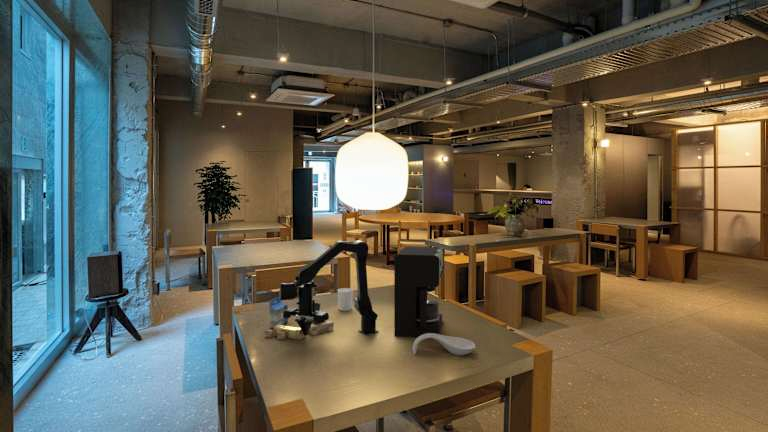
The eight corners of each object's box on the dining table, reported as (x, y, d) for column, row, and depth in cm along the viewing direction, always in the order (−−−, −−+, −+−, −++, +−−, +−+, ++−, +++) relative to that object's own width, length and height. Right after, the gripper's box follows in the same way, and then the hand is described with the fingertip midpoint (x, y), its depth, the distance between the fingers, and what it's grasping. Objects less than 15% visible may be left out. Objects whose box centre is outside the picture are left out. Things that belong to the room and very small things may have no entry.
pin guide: (294, 333, 171) (293, 327, 171) (283, 339, 164) (283, 333, 164) (276, 330, 175) (275, 324, 174) (265, 336, 168) (265, 330, 168)
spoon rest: (470, 346, 158) (471, 328, 157) (479, 358, 146) (479, 339, 146) (411, 347, 157) (411, 329, 156) (414, 360, 145) (414, 340, 145)
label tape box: (277, 328, 177) (276, 301, 176) (269, 327, 178) (269, 300, 178) (288, 322, 185) (287, 296, 185) (280, 321, 187) (280, 295, 186)
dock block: (333, 330, 175) (333, 322, 175) (313, 335, 169) (312, 327, 169) (322, 324, 183) (322, 316, 183) (302, 328, 177) (302, 321, 177)
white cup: (354, 307, 210) (354, 288, 209) (351, 311, 202) (351, 292, 201) (339, 306, 211) (339, 287, 210) (336, 311, 203) (336, 291, 202)
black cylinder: (324, 329, 176) (324, 312, 175) (315, 331, 173) (315, 313, 173) (320, 327, 179) (319, 309, 178) (311, 329, 177) (311, 311, 176)
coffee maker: (439, 343, 160) (440, 256, 158) (391, 339, 164) (391, 255, 162) (443, 320, 188) (444, 246, 185) (402, 318, 191) (402, 245, 189)
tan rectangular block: (305, 336, 167) (305, 326, 167) (299, 340, 163) (299, 330, 163) (279, 332, 172) (279, 323, 172) (273, 335, 168) (273, 326, 168)
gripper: (335, 295, 167) (335, 332, 169) (297, 291, 174) (297, 326, 175) (321, 302, 157) (321, 341, 158) (281, 297, 164) (282, 335, 165)
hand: (306, 335), depth 164 cm, fingers closed
